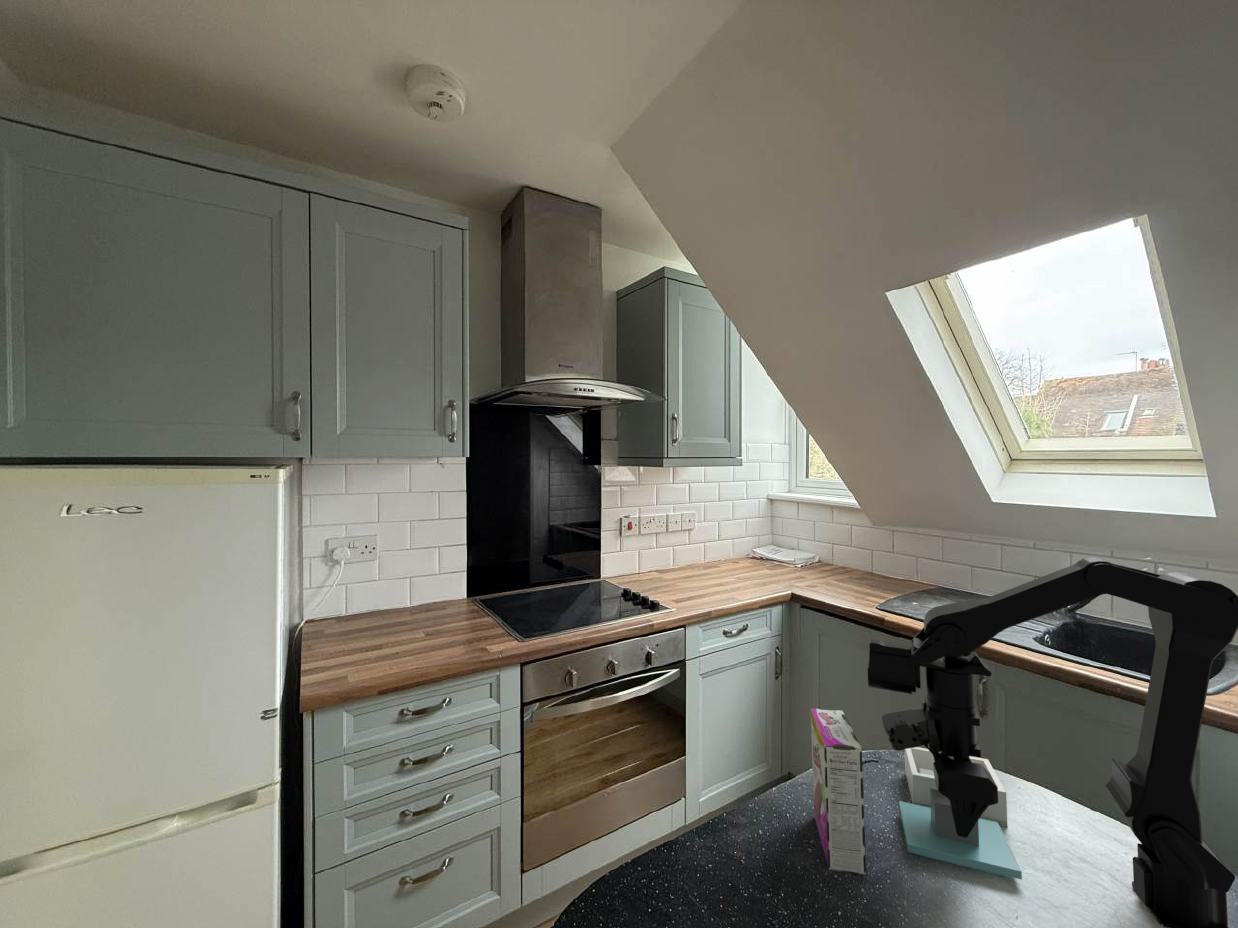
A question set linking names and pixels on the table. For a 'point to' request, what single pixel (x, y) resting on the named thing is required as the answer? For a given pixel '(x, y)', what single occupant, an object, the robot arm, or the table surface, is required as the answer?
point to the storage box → (923, 779)
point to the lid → (956, 838)
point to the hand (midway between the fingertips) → (954, 814)
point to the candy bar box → (838, 791)
